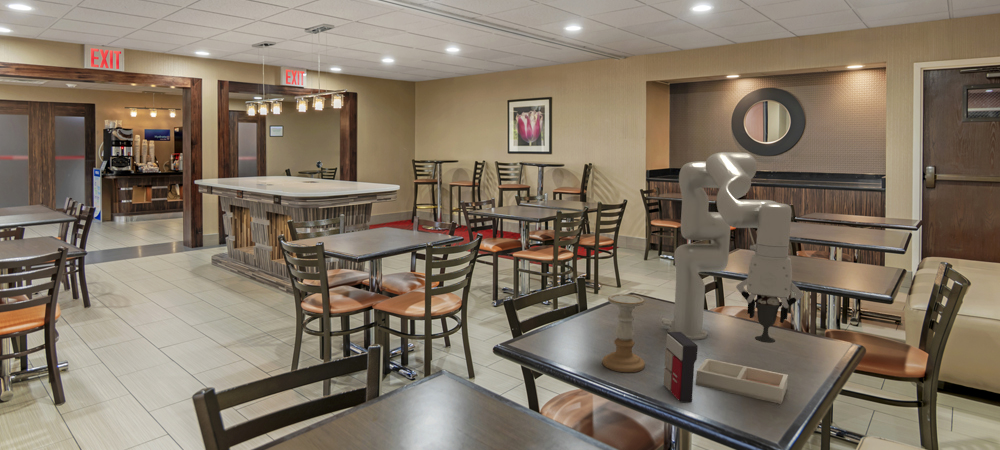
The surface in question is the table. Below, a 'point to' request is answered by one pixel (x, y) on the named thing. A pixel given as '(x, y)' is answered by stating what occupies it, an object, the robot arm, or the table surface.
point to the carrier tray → (742, 380)
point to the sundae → (767, 315)
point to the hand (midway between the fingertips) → (766, 318)
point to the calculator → (680, 365)
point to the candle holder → (624, 336)
